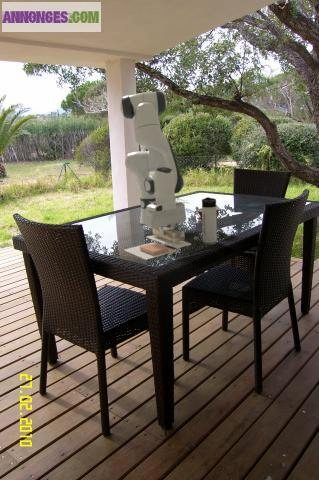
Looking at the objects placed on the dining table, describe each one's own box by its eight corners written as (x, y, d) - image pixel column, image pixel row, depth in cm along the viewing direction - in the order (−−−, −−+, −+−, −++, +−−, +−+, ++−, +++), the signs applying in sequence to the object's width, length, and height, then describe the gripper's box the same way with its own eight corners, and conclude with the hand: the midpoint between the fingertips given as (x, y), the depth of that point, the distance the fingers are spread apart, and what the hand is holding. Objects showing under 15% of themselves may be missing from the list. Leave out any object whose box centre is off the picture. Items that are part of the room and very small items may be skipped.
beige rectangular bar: (160, 232, 191) (160, 224, 189) (184, 240, 176) (184, 231, 174) (150, 234, 187) (149, 226, 186) (173, 242, 172) (173, 234, 171)
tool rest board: (160, 235, 193) (160, 233, 193) (191, 245, 174) (191, 243, 174) (146, 238, 189) (146, 236, 189) (176, 249, 170) (176, 247, 170)
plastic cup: (203, 228, 202) (202, 205, 199) (223, 230, 197) (223, 206, 194) (194, 233, 193) (193, 209, 190) (214, 235, 188) (214, 210, 185)
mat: (153, 243, 181) (153, 242, 181) (177, 252, 166) (177, 250, 166) (123, 251, 172) (123, 249, 172) (145, 261, 158) (145, 259, 158)
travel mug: (215, 240, 181) (214, 196, 175) (217, 244, 174) (217, 199, 169) (201, 241, 181) (200, 197, 175) (203, 245, 174) (202, 200, 169)
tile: (155, 242, 174) (168, 247, 166) (155, 246, 174) (168, 251, 166) (139, 246, 170) (152, 251, 162) (140, 250, 170) (153, 255, 162)
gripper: (179, 200, 185) (181, 228, 189) (143, 207, 174) (145, 237, 178) (188, 201, 180) (189, 231, 184) (151, 209, 169) (152, 240, 173)
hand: (167, 234), depth 181 cm, fingers closed on beige rectangular bar, 3 cm apart
